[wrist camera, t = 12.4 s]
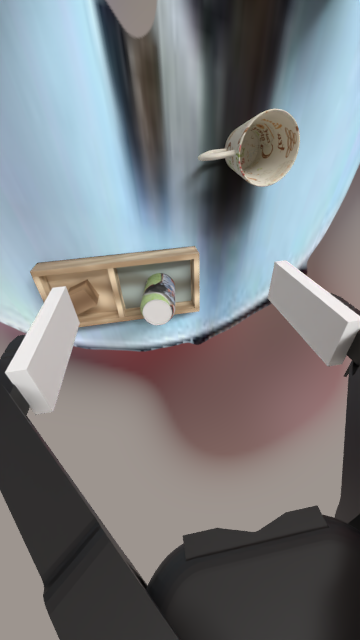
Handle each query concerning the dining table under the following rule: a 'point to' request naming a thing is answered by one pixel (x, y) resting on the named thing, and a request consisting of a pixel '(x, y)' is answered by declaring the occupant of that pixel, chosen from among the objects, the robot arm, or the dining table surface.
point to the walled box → (123, 281)
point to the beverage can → (158, 299)
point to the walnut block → (83, 296)
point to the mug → (261, 148)
